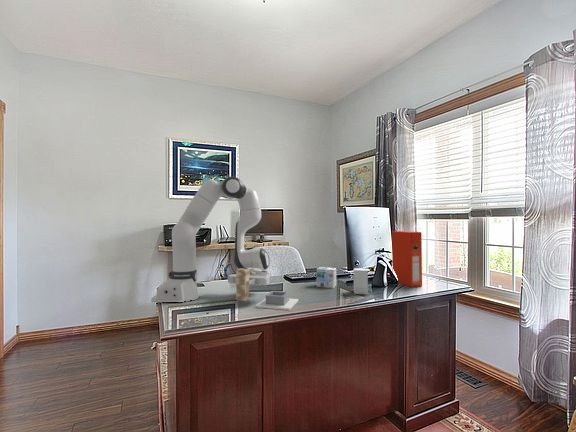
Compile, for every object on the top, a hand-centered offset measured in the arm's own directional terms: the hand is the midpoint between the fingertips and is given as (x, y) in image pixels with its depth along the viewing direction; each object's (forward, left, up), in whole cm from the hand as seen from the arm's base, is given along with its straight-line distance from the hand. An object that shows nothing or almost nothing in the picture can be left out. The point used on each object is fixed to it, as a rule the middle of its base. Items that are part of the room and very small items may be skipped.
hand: (242, 282), depth 142 cm
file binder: (+95, +42, -11) cm, 105 cm away
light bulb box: (+45, +38, -11) cm, 60 cm away
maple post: (0, +1, -8) cm, 8 cm away
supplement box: (+61, +22, -11) cm, 66 cm away
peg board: (+16, +2, -11) cm, 20 cm away
